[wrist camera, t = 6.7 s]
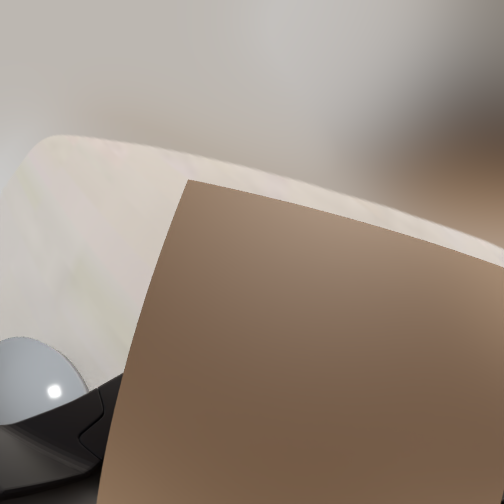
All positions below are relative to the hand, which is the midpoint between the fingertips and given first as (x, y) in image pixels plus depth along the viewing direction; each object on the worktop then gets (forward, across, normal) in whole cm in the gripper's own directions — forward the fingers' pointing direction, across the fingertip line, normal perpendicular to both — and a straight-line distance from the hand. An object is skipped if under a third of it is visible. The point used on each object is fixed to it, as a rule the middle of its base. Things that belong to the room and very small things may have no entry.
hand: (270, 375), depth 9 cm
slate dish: (+4, +13, +12) cm, 18 cm away
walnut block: (+4, 0, +6) cm, 7 cm away
